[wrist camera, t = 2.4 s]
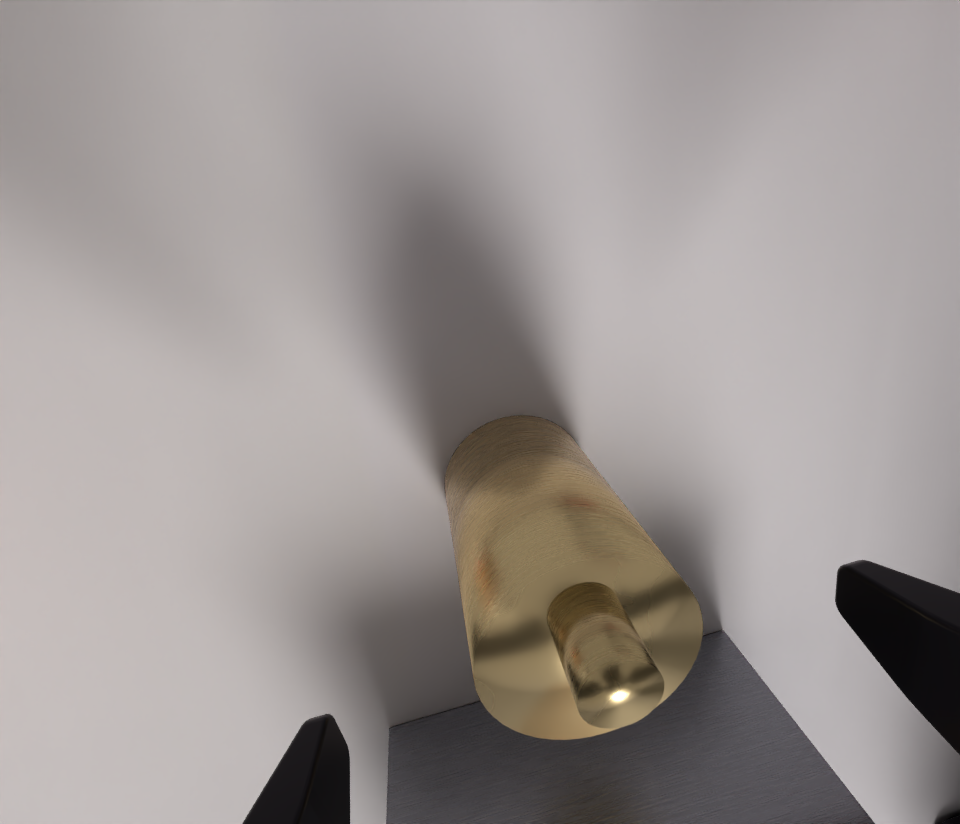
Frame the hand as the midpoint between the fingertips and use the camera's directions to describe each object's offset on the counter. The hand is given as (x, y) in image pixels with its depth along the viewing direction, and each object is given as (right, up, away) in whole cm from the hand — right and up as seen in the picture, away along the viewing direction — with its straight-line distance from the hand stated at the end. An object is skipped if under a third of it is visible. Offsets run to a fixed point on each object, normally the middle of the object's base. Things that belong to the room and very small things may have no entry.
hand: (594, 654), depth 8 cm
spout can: (-1, +2, +5) cm, 6 cm away
